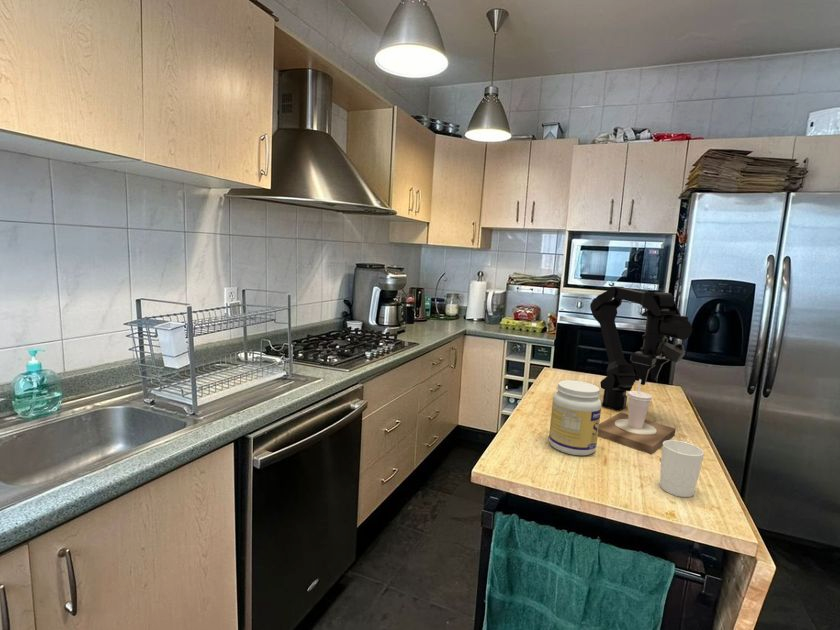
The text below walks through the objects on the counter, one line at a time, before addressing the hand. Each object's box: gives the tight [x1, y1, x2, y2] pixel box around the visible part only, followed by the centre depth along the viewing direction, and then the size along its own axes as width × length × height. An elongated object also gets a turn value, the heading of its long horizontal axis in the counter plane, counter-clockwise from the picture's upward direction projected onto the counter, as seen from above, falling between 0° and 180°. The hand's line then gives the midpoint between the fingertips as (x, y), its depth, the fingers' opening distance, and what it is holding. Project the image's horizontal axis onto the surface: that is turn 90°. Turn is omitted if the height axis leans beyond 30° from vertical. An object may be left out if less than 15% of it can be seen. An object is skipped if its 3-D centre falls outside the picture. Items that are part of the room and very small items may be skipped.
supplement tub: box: [548, 379, 603, 456], centre depth 119 cm, size 12×12×17 cm
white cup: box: [659, 439, 705, 498], centre depth 101 cm, size 8×8×10 cm
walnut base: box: [598, 411, 677, 455], centre depth 131 cm, size 16×20×3 cm
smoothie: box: [627, 378, 653, 429], centre depth 130 cm, size 6×6×14 cm
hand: (648, 382), depth 141 cm, fingers open, 9 cm apart
